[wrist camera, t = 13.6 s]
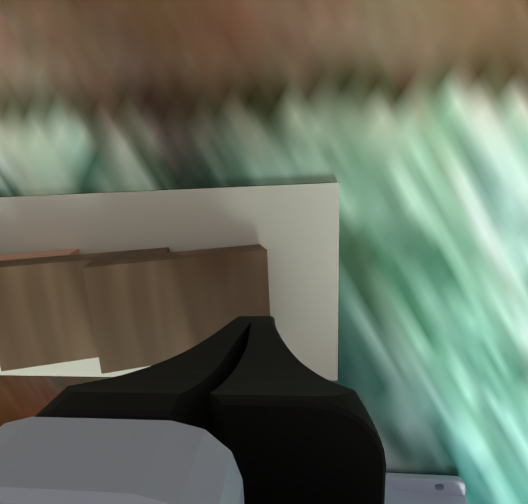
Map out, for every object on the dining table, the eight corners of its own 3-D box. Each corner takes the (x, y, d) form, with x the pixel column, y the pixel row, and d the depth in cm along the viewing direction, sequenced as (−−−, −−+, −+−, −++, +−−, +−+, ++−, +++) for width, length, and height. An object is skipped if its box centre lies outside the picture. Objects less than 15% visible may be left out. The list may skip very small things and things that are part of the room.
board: (338, 182, 16) (339, 182, 15) (336, 375, 18) (337, 380, 18) (-97, 201, 18) (-108, 202, 18) (-49, 369, 21) (-57, 374, 20)
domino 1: (166, 253, 15) (-25, 269, 14) (176, 345, 16) (1, 371, 15) (168, 247, 17) (-3, 261, 15) (177, 332, 18) (19, 354, 16)
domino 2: (267, 249, 15) (82, 267, 13) (271, 345, 16) (101, 373, 14) (259, 244, 16) (93, 259, 15) (264, 331, 17) (109, 355, 16)
